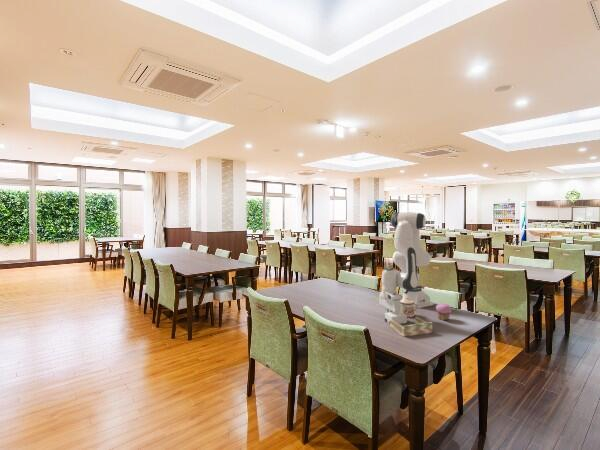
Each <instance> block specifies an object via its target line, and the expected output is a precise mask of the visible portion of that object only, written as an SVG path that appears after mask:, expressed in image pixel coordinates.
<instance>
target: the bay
mask: <svg viewBox="0 0 600 450" xmlns="http://www.w3.org/2000/svg"><path fill="white" fill-rule="evenodd" d="M389 328H390V329H391V330H392V331H394V332H396V333H397V334H399V335H401V336H402V337H411V336H416V335H424V334H432V333H433V322H432V321H430V322H429V321H428V322H427V321H426V320H424V319H422V318H420V317H418V316H416V317H414V324H406V325H403V324H398V323H397V322H395V321H393V320H390V324H389Z"/></svg>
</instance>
